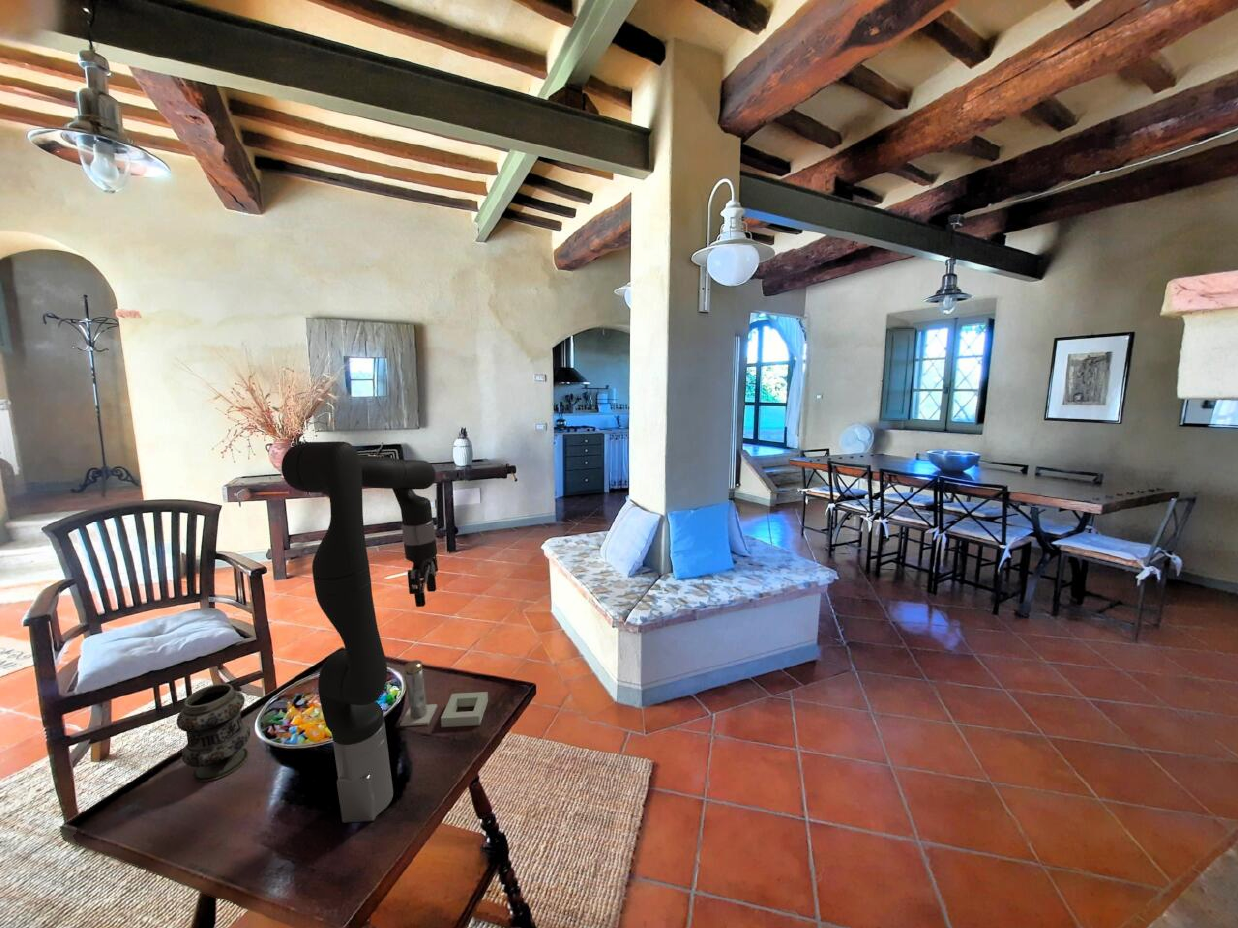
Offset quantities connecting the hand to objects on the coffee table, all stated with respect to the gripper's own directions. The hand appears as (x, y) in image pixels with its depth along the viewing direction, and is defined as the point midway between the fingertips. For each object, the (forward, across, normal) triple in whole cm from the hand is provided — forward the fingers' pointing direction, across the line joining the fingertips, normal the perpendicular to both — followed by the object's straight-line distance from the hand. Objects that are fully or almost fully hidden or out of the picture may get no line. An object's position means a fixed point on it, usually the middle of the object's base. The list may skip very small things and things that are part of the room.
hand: (426, 598), depth 124 cm
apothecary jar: (+30, -18, +44) cm, 56 cm away
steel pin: (+30, -5, +4) cm, 30 cm away
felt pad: (+30, -5, +4) cm, 31 cm away
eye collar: (+30, -5, -8) cm, 32 cm away
